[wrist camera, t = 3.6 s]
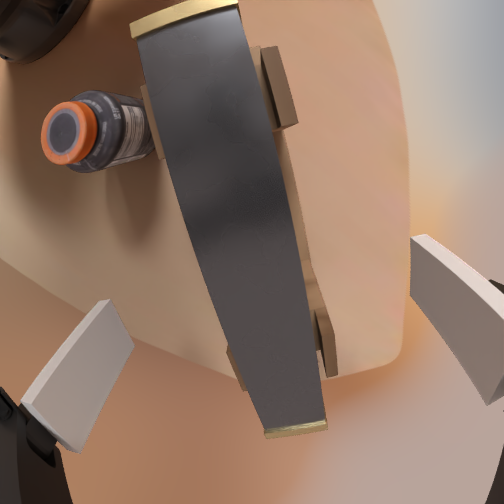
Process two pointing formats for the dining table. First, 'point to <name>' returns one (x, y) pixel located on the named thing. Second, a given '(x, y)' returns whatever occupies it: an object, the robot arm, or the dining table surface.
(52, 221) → the dining table surface
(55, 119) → the pill bottle
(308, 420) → the rail
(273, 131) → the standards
